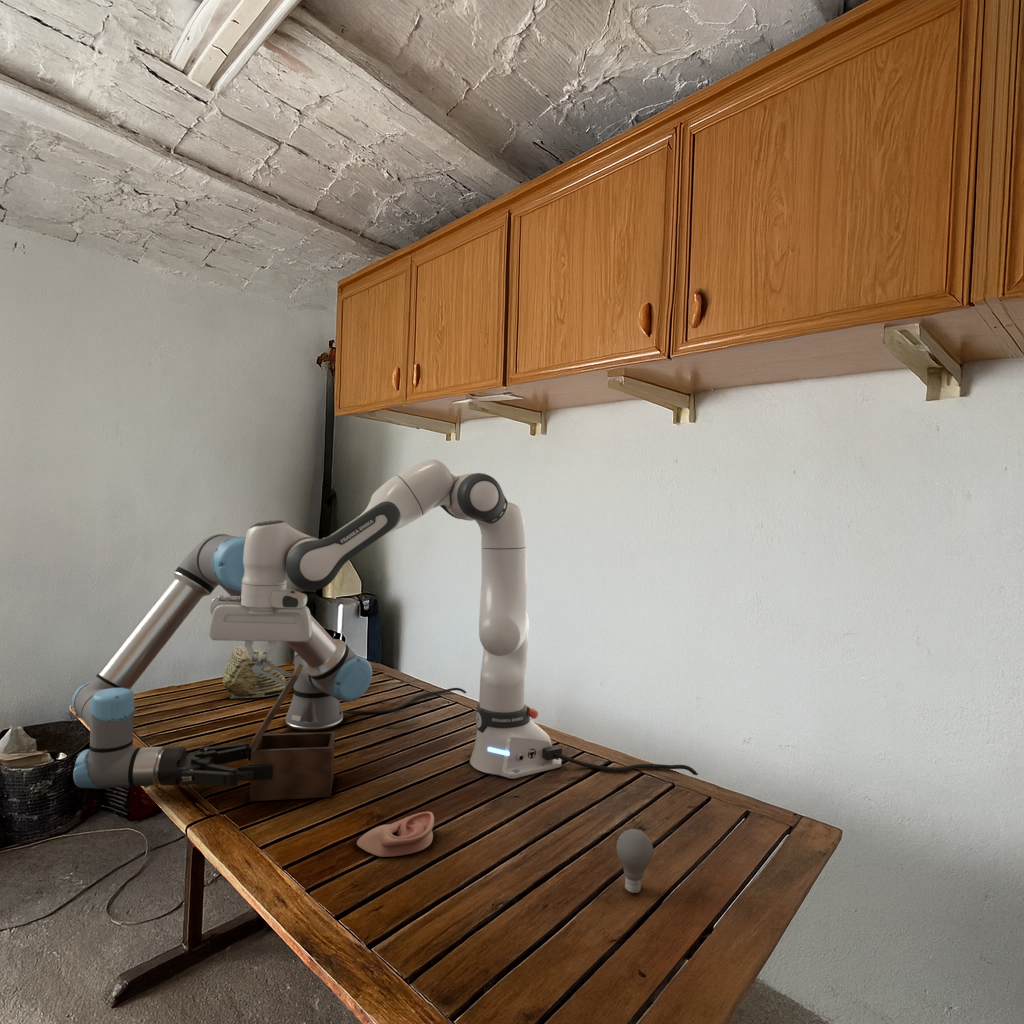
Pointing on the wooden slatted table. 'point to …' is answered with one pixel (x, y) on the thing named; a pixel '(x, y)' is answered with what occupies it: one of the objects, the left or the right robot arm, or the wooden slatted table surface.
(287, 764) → the chest
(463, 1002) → the wooden slatted table surface
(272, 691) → the fossil
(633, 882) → the light bulb
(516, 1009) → the wooden slatted table surface
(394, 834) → the anatomical model
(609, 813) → the wooden slatted table surface
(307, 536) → the right robot arm
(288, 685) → the lid
